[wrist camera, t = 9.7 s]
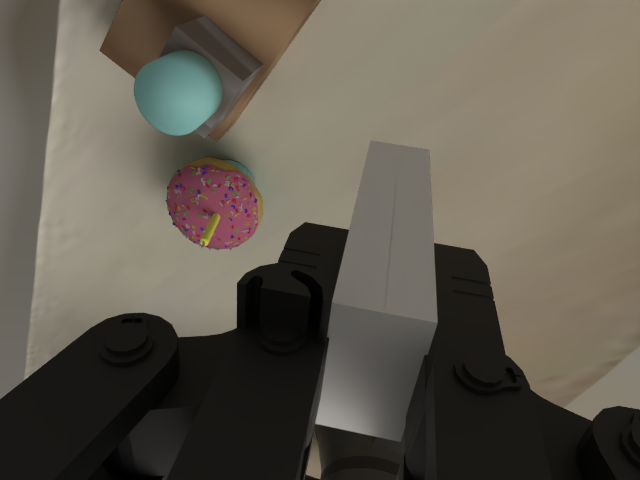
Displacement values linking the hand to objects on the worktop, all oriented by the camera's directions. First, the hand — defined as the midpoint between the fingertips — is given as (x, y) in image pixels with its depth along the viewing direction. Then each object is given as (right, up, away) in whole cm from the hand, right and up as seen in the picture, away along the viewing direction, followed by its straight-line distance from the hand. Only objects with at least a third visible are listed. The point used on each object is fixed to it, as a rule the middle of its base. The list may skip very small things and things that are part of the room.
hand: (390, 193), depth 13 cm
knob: (-10, +11, +23) cm, 27 cm away
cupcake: (-10, +4, +33) cm, 35 cm away
